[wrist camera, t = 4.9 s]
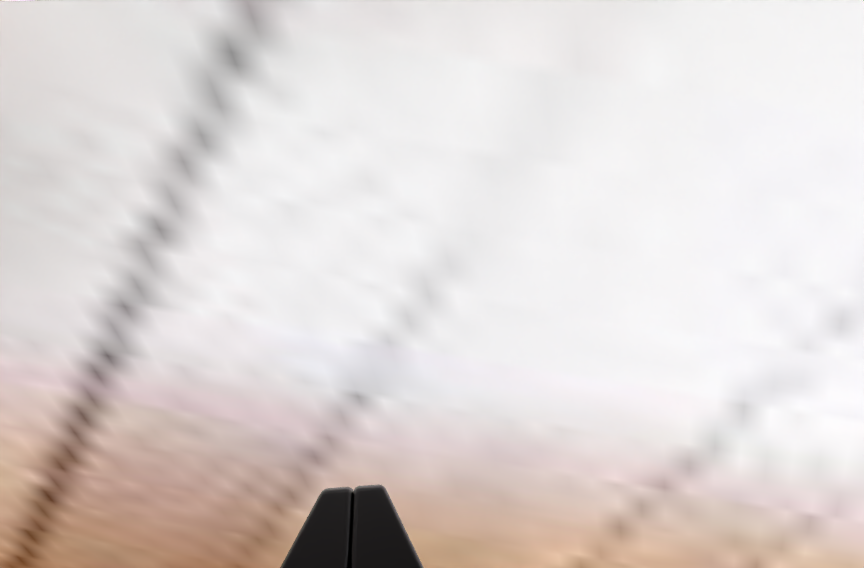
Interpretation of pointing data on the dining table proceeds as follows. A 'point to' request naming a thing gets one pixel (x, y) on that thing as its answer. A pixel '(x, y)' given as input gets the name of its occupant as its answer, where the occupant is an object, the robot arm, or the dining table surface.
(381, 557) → the robot arm
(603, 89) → the dining table surface
